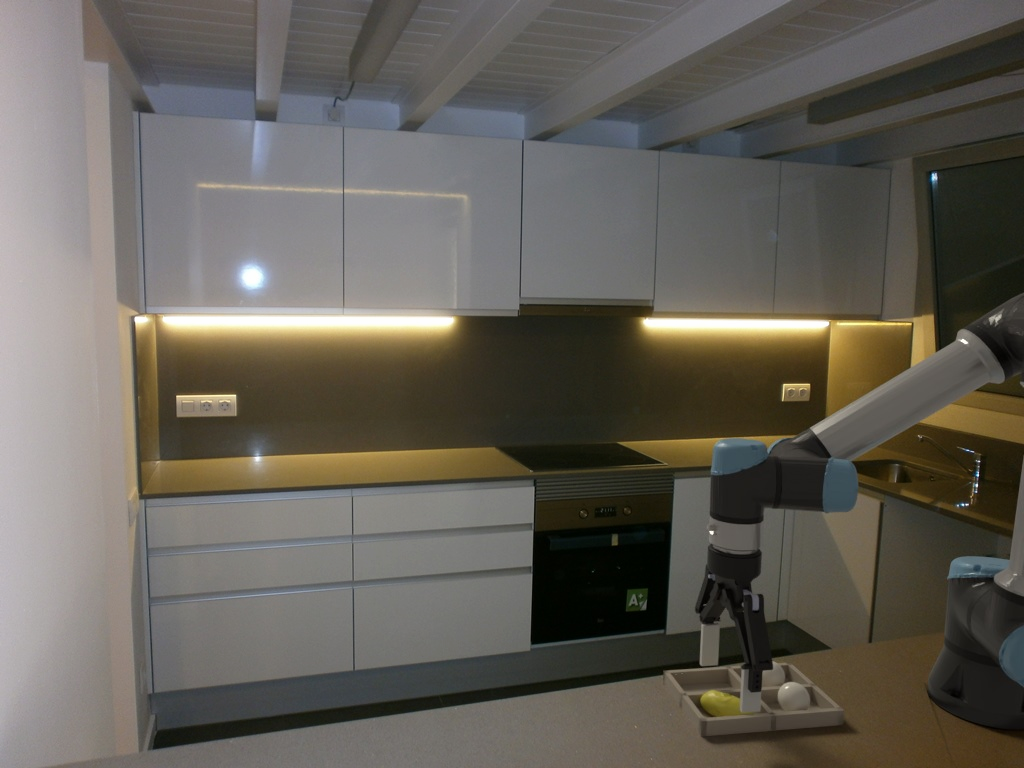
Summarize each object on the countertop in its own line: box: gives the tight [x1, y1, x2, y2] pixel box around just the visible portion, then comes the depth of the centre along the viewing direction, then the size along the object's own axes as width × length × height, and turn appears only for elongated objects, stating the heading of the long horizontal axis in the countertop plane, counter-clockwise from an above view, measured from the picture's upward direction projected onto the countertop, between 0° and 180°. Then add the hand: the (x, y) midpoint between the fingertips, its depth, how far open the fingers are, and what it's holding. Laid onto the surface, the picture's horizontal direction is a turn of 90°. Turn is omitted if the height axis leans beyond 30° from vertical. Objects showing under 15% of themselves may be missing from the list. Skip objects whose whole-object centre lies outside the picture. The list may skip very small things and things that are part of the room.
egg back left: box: [778, 682, 810, 712], centre depth 113 cm, size 5×5×5 cm
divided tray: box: [662, 662, 845, 737], centre depth 115 cm, size 22×15×3 cm
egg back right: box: [762, 660, 785, 687], centre depth 120 cm, size 5×5×5 cm
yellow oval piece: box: [700, 690, 755, 717], centre depth 111 cm, size 4×8×4 cm, turn 52°
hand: (728, 686), depth 111 cm, fingers open, 13 cm apart
